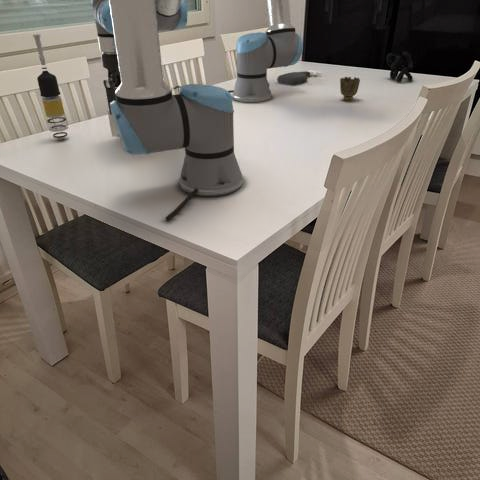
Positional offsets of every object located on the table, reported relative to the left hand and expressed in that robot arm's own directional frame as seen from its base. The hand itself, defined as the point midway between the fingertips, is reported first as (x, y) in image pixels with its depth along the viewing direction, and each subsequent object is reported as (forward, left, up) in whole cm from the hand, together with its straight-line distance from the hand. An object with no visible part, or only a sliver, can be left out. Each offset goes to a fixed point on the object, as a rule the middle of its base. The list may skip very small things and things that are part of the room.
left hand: (126, 132), depth 137 cm
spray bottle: (+95, -32, -2) cm, 101 cm away
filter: (-6, +21, -2) cm, 22 cm away
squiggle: (+106, -76, -2) cm, 130 cm away
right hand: (+43, -59, +27) cm, 78 cm away
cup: (+65, -58, -2) cm, 88 cm away
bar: (+1, -8, -1) cm, 8 cm away
